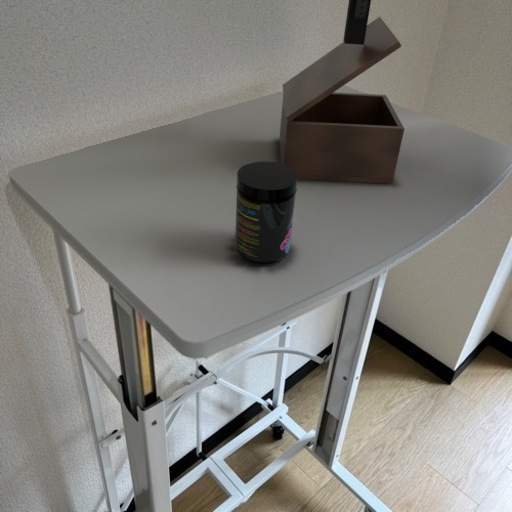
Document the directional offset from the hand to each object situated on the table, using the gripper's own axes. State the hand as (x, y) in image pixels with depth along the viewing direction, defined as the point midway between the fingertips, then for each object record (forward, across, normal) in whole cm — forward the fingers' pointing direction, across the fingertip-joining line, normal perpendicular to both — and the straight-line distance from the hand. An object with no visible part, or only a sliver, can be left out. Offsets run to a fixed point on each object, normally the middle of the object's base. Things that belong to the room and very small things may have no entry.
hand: (353, 42), depth 77 cm
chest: (+18, 0, 0) cm, 18 cm away
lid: (+4, 0, -2) cm, 4 cm away
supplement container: (+19, +26, -12) cm, 34 cm away
